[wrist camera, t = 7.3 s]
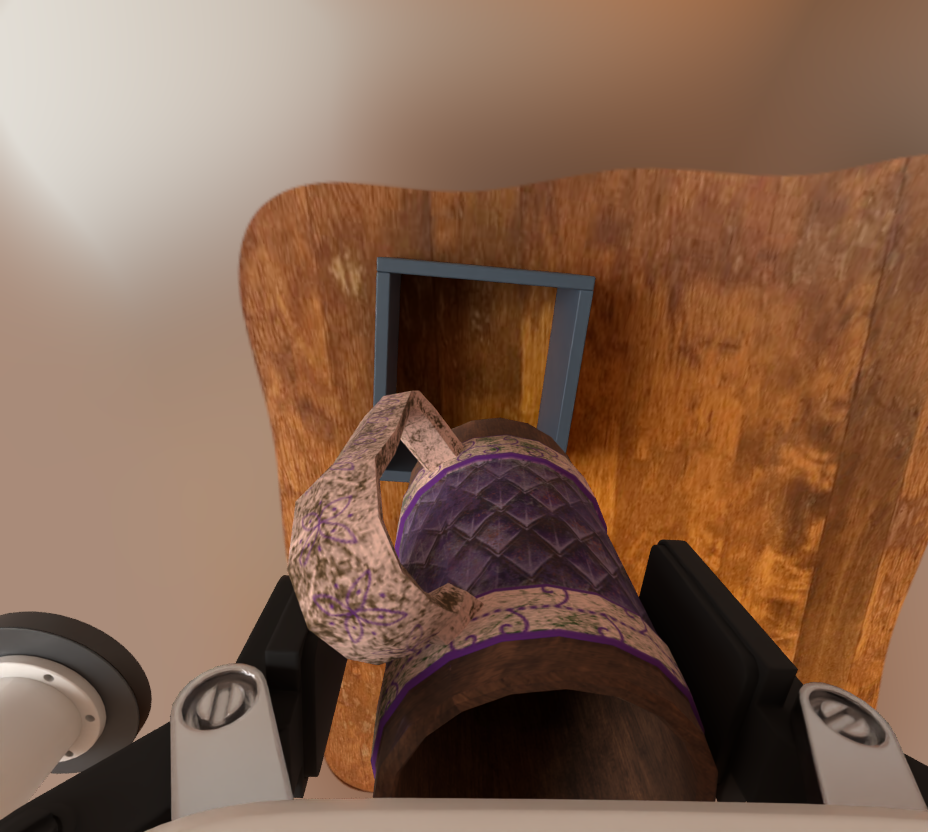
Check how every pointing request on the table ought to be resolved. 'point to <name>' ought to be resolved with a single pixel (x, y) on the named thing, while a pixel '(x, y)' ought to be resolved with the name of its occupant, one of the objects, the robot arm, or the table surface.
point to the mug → (492, 620)
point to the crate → (570, 287)
